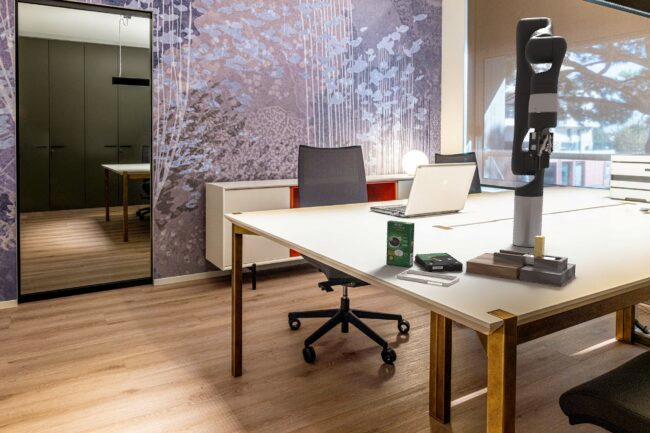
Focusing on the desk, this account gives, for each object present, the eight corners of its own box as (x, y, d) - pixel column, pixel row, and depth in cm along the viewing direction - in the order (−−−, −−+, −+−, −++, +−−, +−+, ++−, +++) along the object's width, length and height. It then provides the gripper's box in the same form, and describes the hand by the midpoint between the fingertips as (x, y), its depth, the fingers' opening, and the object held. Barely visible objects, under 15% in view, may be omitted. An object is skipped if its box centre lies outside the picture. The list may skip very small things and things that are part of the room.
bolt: (525, 261, 145) (526, 234, 144) (555, 265, 140) (556, 237, 139) (521, 263, 143) (523, 235, 142) (552, 267, 138) (554, 238, 137)
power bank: (459, 281, 140) (408, 273, 148) (460, 276, 139) (409, 269, 148) (448, 288, 134) (396, 279, 143) (448, 283, 134) (396, 274, 142)
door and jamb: (485, 262, 158) (486, 244, 158) (575, 275, 143) (576, 255, 142) (466, 271, 148) (466, 252, 147) (560, 286, 132) (561, 265, 131)
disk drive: (463, 273, 149) (446, 260, 163) (463, 263, 148) (446, 252, 163) (427, 274, 148) (413, 262, 162) (427, 265, 147) (414, 253, 162)
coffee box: (414, 265, 155) (415, 222, 153) (410, 267, 153) (410, 223, 151) (390, 262, 160) (390, 219, 158) (385, 264, 158) (386, 221, 156)
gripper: (537, 112, 155) (534, 167, 158) (520, 110, 145) (518, 170, 147) (564, 111, 151) (561, 168, 153) (549, 109, 140) (546, 170, 142)
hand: (540, 169), depth 150 cm, fingers open, 8 cm apart
